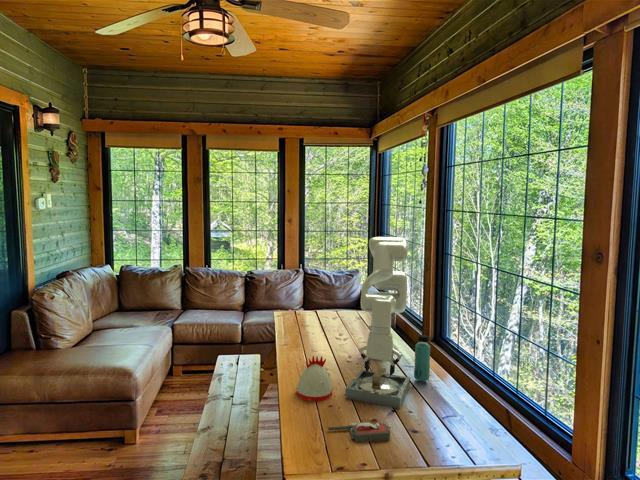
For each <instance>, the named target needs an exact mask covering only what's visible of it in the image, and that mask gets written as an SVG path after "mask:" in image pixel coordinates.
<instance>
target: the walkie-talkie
mask: <svg viewBox="0 0 640 480" xmlns="http://www.w3.org/2000/svg"><path fill="white" fill-rule="evenodd" d="M327 430H328V431H339V430H340V431H341V430H349V433H350V434H351V439H352V440H354V441H355V443H365V442H366V443H367V442H380V441H381V442H382V441H389V440H391V430H390V428H389V426H388V425H387V423H382V422H381V423H379V422H376V423H371V422H351V423H350V424H349V425H342V426H341V425H340V426H328V427H327Z"/></svg>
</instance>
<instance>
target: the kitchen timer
mask: <svg viewBox="0 0 640 480" xmlns="http://www.w3.org/2000/svg"><path fill="white" fill-rule="evenodd" d="M318 357H319V356H316V357H314V355H312V359H311V358H308V363H307V362H306V361H304V364H305V365H306V367H305V368H304V369H303V371H302V372H301V374H300V376H299V379H298V382H297V385H296V396H298V398H301V399H302V400H305V401H311V402H319V401H325V400H328V399H330V398H331V397H332V395H333V385H332V382H331V381H332V380H331V378H330V376H331V375H330V373H329V372H328V371H327V370H326V368H325V367H324V366H325V364H326V361H327V359H326V358H324V360H323V356H322V355H321V356H320V359H319V358H318Z"/></svg>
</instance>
